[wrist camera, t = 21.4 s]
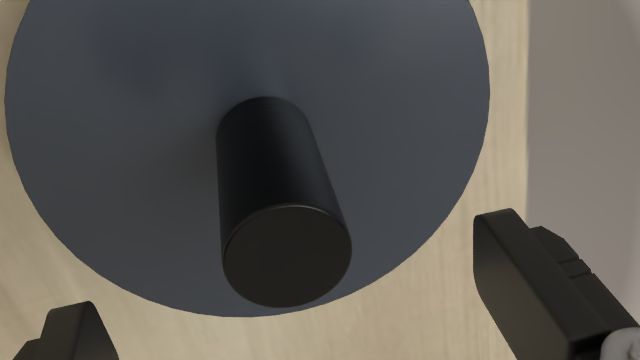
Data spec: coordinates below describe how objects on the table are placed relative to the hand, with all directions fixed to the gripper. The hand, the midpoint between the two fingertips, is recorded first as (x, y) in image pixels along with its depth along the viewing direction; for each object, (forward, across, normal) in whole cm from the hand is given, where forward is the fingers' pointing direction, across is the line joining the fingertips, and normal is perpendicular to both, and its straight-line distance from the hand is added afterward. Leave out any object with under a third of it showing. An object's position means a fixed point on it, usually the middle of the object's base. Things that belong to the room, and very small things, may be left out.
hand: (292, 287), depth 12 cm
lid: (+8, 0, 0) cm, 8 cm away
